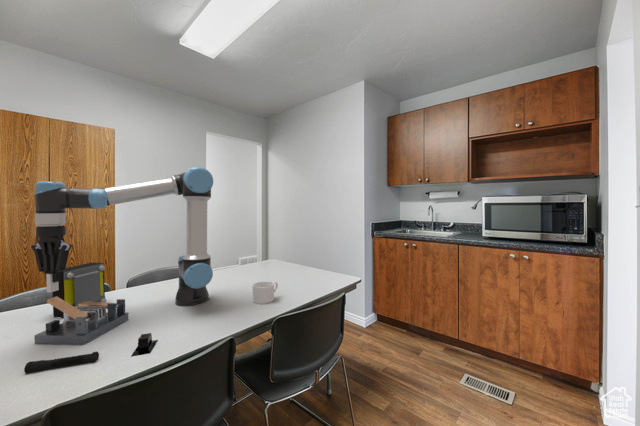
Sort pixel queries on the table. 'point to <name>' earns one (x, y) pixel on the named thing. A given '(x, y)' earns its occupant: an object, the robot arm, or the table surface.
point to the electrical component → (80, 285)
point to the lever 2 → (93, 304)
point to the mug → (264, 292)
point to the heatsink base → (84, 325)
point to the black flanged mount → (144, 345)
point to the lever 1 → (66, 308)
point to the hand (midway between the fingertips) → (52, 291)
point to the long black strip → (60, 362)
